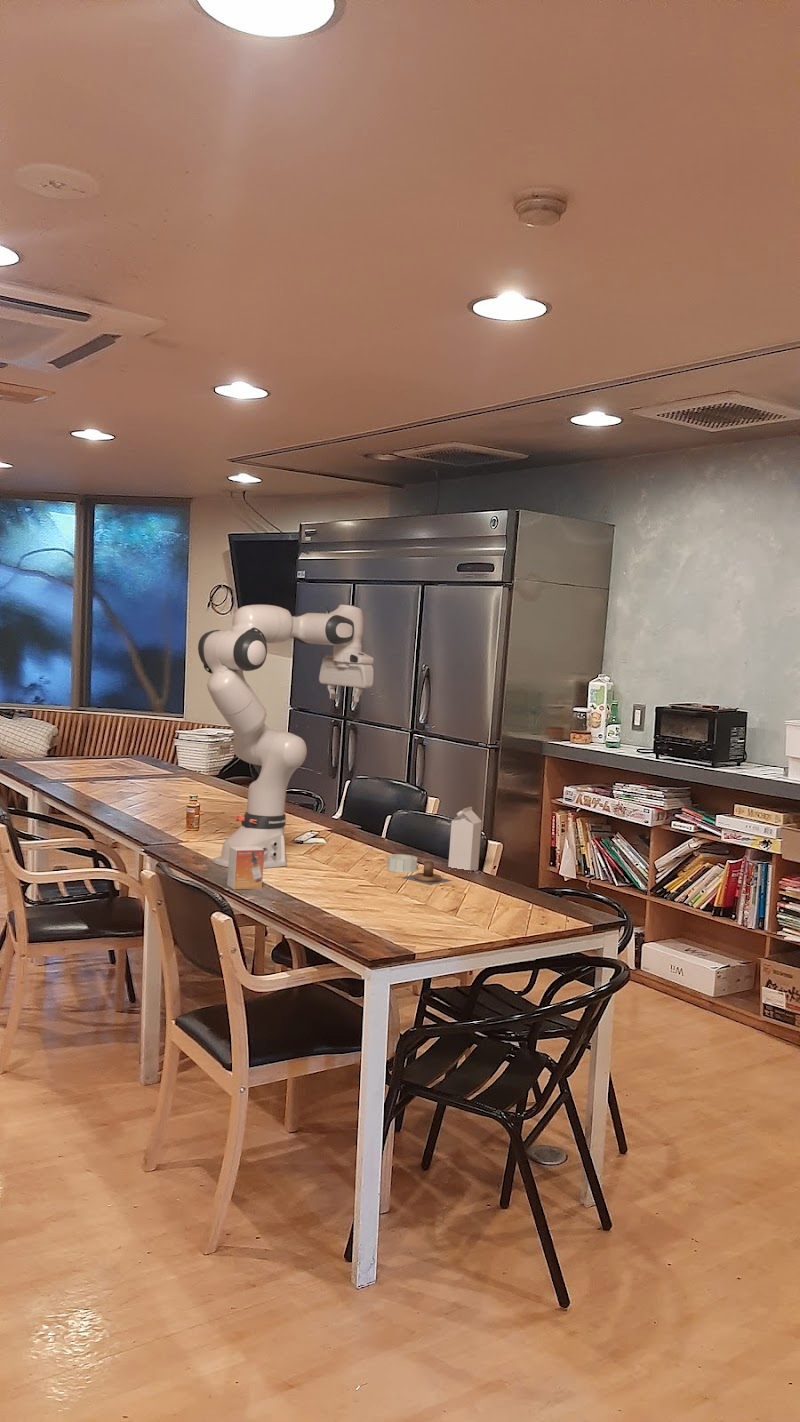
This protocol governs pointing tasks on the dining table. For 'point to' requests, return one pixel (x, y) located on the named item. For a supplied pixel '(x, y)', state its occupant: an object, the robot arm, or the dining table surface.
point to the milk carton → (465, 840)
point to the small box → (245, 867)
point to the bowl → (402, 863)
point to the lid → (428, 873)
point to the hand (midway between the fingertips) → (344, 700)
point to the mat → (425, 882)
